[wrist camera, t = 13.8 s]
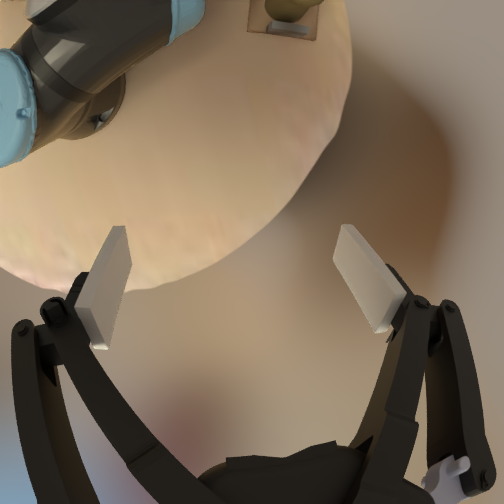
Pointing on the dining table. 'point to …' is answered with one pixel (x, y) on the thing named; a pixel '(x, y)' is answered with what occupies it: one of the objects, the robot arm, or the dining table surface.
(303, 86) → the dining table surface
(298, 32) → the stand
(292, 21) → the cork
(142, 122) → the dining table surface
